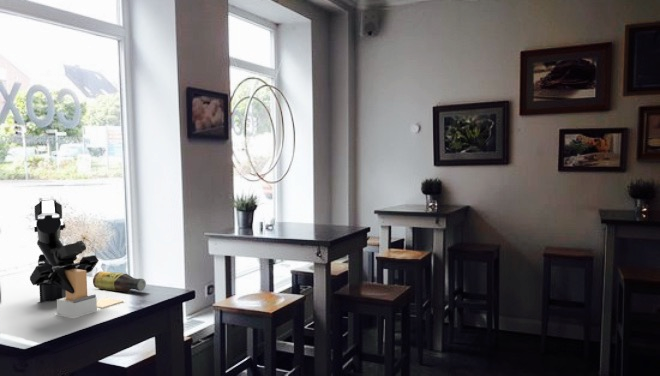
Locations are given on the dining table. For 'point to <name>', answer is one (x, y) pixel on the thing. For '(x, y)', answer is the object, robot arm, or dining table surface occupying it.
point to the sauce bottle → (117, 281)
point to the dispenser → (83, 306)
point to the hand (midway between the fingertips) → (79, 291)
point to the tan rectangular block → (77, 284)
